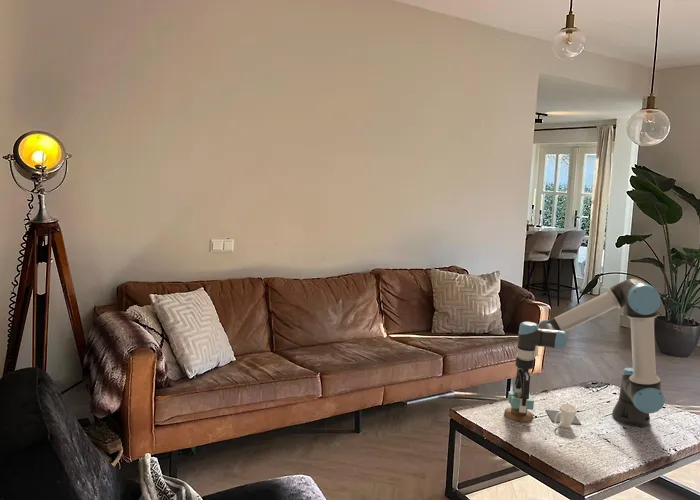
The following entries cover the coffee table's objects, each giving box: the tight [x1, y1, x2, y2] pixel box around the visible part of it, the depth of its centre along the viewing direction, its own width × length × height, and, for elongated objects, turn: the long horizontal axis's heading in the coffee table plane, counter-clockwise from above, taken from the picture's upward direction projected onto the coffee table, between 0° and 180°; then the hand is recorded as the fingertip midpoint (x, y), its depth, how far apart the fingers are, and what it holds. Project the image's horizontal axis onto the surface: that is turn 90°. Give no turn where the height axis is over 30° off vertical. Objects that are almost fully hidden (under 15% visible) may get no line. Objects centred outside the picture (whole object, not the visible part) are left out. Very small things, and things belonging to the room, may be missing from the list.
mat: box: [545, 409, 582, 426], centre depth 258 cm, size 12×12×1 cm
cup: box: [554, 403, 578, 428], centre depth 249 cm, size 7×10×8 cm
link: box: [507, 391, 535, 411], centre depth 255 cm, size 9×9×4 cm
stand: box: [503, 393, 534, 423], centre depth 256 cm, size 12×12×10 cm
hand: (519, 407), depth 256 cm, fingers closed on link, 9 cm apart
